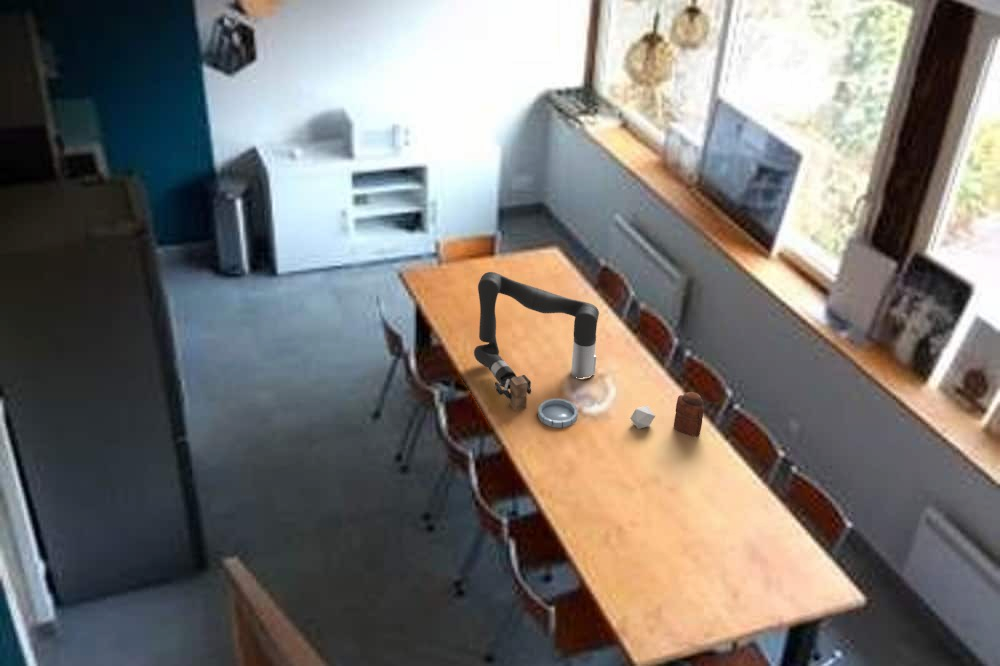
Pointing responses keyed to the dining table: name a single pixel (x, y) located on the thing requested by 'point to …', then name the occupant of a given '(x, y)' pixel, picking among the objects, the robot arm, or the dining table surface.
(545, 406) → the bowl
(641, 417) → the die
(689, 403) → the wooden figurine
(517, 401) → the walnut block
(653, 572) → the dining table surface
